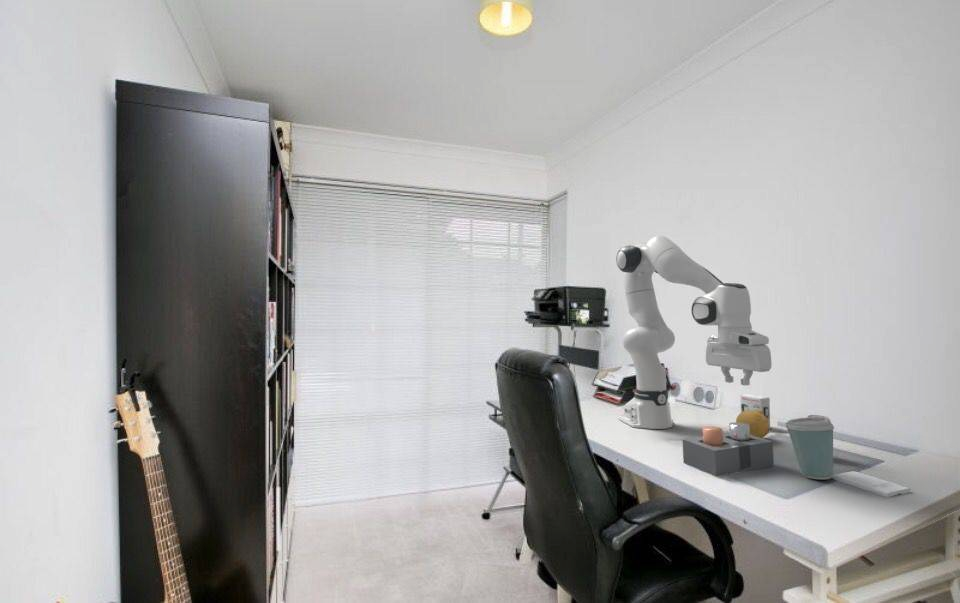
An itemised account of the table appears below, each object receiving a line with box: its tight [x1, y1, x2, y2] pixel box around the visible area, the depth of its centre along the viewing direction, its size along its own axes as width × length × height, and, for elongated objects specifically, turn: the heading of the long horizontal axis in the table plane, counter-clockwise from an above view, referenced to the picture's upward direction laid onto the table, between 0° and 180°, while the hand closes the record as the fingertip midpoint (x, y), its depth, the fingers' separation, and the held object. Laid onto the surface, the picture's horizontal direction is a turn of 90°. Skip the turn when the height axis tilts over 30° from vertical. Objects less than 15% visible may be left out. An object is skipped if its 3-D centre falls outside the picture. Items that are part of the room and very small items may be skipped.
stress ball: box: [735, 410, 770, 439], centre depth 154 cm, size 10×10×10 cm
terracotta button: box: [702, 425, 724, 447], centre depth 130 cm, size 5×5×7 cm
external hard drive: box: [832, 470, 912, 498], centre depth 113 cm, size 2×8×12 cm
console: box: [682, 431, 775, 477], centre depth 131 cm, size 12×21×7 cm, turn 108°
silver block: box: [728, 421, 750, 442], centre depth 133 cm, size 5×5×7 cm
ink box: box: [740, 393, 771, 430], centre depth 168 cm, size 9×5×12 cm, turn 24°
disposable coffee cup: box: [785, 416, 835, 481], centre depth 120 cm, size 11×11×15 cm
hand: (737, 383), depth 133 cm, fingers open, 4 cm apart
